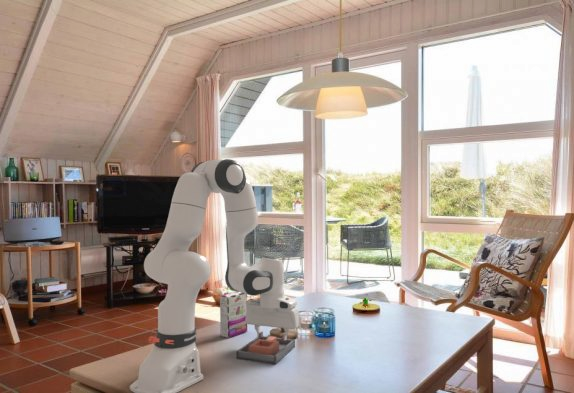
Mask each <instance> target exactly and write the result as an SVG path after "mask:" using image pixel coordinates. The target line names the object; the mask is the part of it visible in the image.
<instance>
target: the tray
mask: <svg viewBox="0 0 574 393" xmlns="http://www.w3.org/2000/svg"><path fill="white" fill-rule="evenodd" d="M269 337H270V336H266V335H265V336H264V335H263V337H262V338H261V337H257V336H256V337H255V338H253V339H252V340H251V341H249V342H248V343H246V344H245V345H243V346H241V348H239V349H238V350H236V351H235V352H236V356H235V357H236V359H237V360H242V359H243V360H242V361H249V360H250V361H251V362H256V361H257V362H258V363H264V364H271V365H277V364H278V363H279V362H281V360H283V358H284V357H286V356H287V355H288V354H289V353H291V351H292V350H293V349H294V348H296V339H294V340H290V339H286V340H285V341H284V340H281V338H277V341H278V342H279V350H278V351H277V352H276V353H275V354H274V355H266V354H259V353H251V352H249V346H250V345H251V344H252V343H254V342H255V341H257V340H258V339H262V340H266V339H267V338H269Z"/></svg>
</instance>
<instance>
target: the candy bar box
mask: <svg viewBox="0 0 574 393" xmlns="http://www.w3.org/2000/svg"><path fill="white" fill-rule="evenodd" d="M247 301H248V294H244V293H241V292H237V291H232V292H229V293H225V294H224V293H223V294H221V295H219V314H220V315H219V317H220V318H219V320H220V322H219V324H220V325H219V326H220V327H219V328H220V330H219V331H220V337H223V338H226V339H230V338H233V337H236V336H239V335H242V334H244V333H247V332H248V324H247V323H246V321H245V319H246V311H247V308H246V302H247Z"/></svg>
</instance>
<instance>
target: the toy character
mask: <svg viewBox="0 0 574 393" xmlns="http://www.w3.org/2000/svg"><path fill="white" fill-rule="evenodd" d="M369 302H373V299H368V298H367V297H365V298H363V299H362V301H359V302H358V304H361V305H362V307H363V306H364V307H365V308H366V306H367V307H368V306H369ZM364 307H363V308H364ZM369 307H370V306H369Z"/></svg>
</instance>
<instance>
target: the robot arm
mask: <svg viewBox="0 0 574 393" xmlns="http://www.w3.org/2000/svg"><path fill="white" fill-rule="evenodd" d="M211 193H214V194H219V193H220V195H221V196H222V198H223V202H224V212H225V219H226V232H225V239H226V240H225V242H226V257H227V258H226V259H227V263H226V264H227V266H226V271H225V275H224V278H225V279H224V280H225V281H224V282H225V284H226V286H227V288H229V289H230V291H232V292H236V291H237V292H241V293H244V294H247V296H254V297H255V296H259V299H258V298H255V299H254V298H250V299H247V302H246V308H247V311H246V319H245V321H246V323H247V325H250V326H254V330H255V332H256V334H257V336H256V337H261V338H262V337H263V336H264V332H263V331H262V330H261V328H260V327H267V328H269V327H270V328H284V331H286V332H285V334H283V335H281V340H284V341H285V340H286V339H287V334H288V332H289V330H290V329H295V330H297V328H299V326H300V313H299V309H298V308H297V307H296V306H297V304H298V301H297V300H296V299H294V298H292V297H290V296H288V295H286V294H285V290H284V282H285V269H284V268H285V267H284V263H283V260H281V258H279V257H276V256H275V257H273V256H268V255H267V256H264V255H263V256H262V257H261V259H260V260H259V261H258V262H256V263H255V264H253V265H251V266H248V264H247V263H246V259H245V248H244V247H245V246H244V244H245V243H244V241H245V238H246V236H247V235H248V234H250V233H252V232H253V231H254V230H255V229H256V227H257V225H258V222H259V221H258V220H259V219H258V218H259V215H258V214H259V213H258V206H257V201H256V196H255V192H254V189H253V186H252V184H251V181H250V180H249V179H248V178H247V176H246V173H245V170H244V167H243V166H242V165H241V163H240V162H239V161H237V160H234V159H229V158H226V159H210V160H207V161H201V162H199V163H197V164H195V165H194V166H193V167H192V169H191V170H190V172H189V171H188V172H185V173H183V174H181V175H180V177H179V178H178V180H177V183H176V186H175V188H174V191H173V194H172V198H171V203H170V208H169V212H168V215H167V216H168V217H167V221H166V224H165V228H164V231H163V233H162V235H161V237H160V239H159V240H158V242H157V245H156V246H155V247H154V249H152V250H151V251H150V252H149V253H148V254H147V255H146V257H145V259H144V262H143V269H144V272H145V274H146V275H147V276H148V277H149V278H150V279H152V280H154V281H155V282H158V283H162V284H165V285H167V291H166V295H165V297H164V299H163V300H162V301H160V303H159V305H158V307H157V331H156V334H155V336H153V335H151V336H149V338H148V343H149V344H153V347H152V349H151V350H150V351H149V353H148V355H147V356H145V359H144V360H143V362H142V363H141V364H140V366H139V370H138V378H137V379H136V380H135V381H133V383H131V384H130V385H129V390H130V391H131V392H132V393H179V392H180V391H182V390H185V389H186V388H189V387H191V386H193V385H195V384H196V383H198V382H200V381H202V380H204V377H205V376H204V374H203V373H202V372H201V363H200V361H201V360H200V352H199V349H198V347H197V344H196V341H197V329H196V326H195V324H196V323H195V322H196V321H195V318H196V317H195V315H196V302H197V298H198V296H199V295H198V294H199V293H200V290H201V289H202V288H203V286H205V284H206V283H207V282H208V280H210V277H211V276H210V275H211V272H212V269H211V264H210V261H209V260H208V258H207V257H205V256H203V255H202V254H199V253H197V252H194V251H191V250H190V251H189V249H190V247H191V245H192V244H193V243H194V241H195V240H196V239H197V238H199V236H200V235H201V234H202V232H203V227H204V222H205V216H206V211H207V204H208V199H209V197H210V195H211Z"/></svg>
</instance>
